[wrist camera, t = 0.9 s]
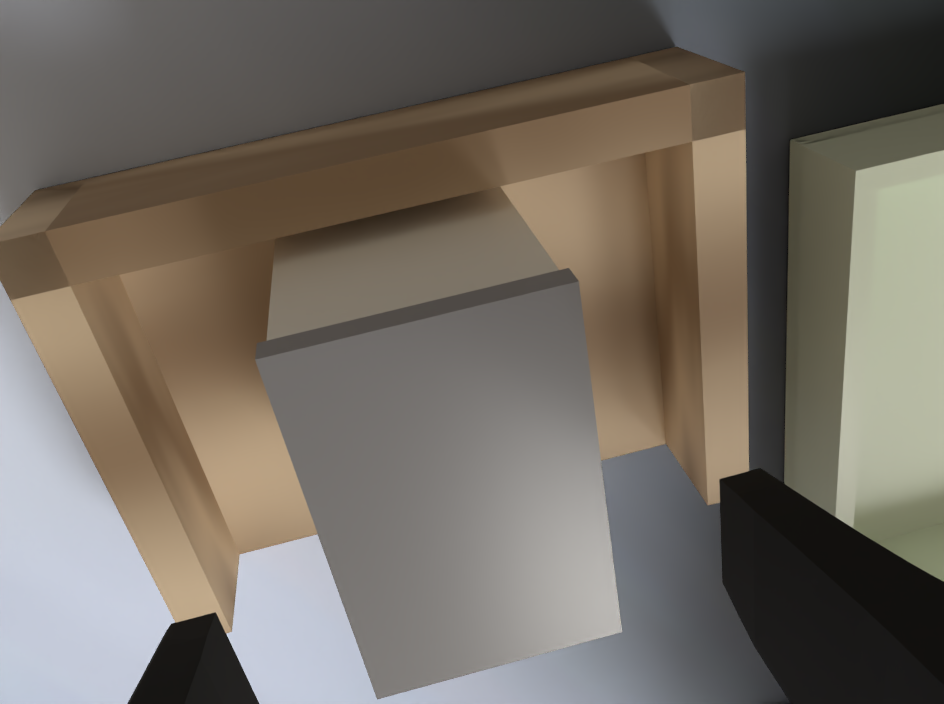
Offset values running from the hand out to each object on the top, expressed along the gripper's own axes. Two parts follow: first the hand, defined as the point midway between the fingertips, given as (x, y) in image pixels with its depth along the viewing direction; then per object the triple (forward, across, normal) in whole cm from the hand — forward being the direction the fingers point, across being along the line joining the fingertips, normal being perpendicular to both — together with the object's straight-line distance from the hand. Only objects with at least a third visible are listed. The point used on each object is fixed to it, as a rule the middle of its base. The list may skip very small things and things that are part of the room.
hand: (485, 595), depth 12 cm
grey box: (+8, 0, 0) cm, 8 cm away
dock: (+8, 0, 0) cm, 8 cm away
